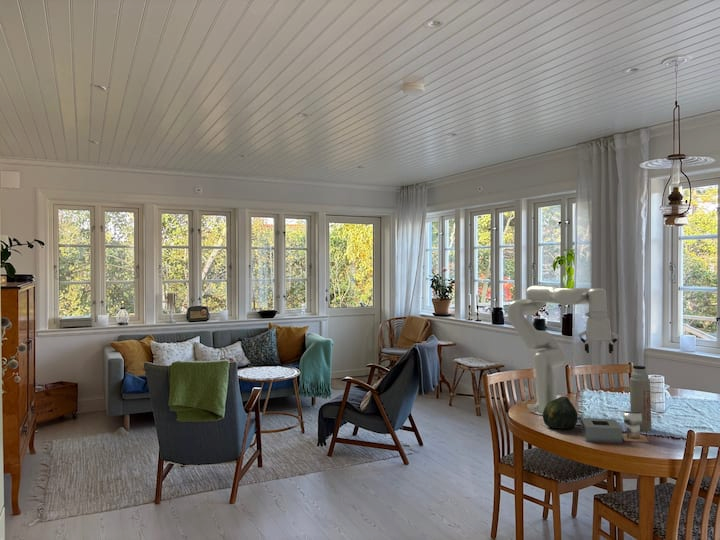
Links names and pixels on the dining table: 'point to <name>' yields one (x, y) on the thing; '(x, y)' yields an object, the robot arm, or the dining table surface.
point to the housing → (601, 430)
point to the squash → (560, 414)
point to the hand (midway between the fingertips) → (598, 352)
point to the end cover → (633, 423)
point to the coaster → (642, 439)
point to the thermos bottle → (641, 396)
